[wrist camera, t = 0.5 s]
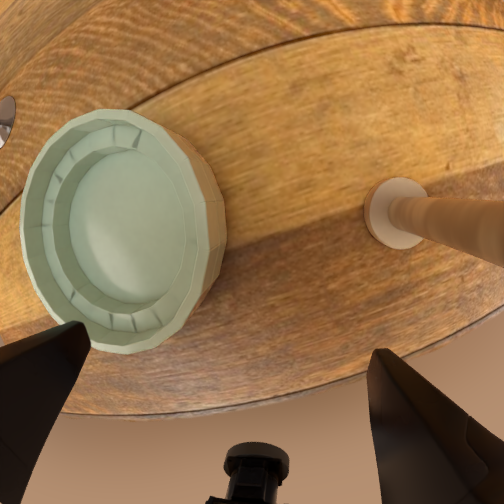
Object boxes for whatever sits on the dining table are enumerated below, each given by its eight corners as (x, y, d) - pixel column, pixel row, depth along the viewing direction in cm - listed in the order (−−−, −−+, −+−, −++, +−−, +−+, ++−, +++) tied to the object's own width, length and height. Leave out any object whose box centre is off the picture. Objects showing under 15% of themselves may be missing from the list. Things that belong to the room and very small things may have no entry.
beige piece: (423, 244, 18) (550, 303, 6) (364, 247, 19) (466, 325, 6) (421, 178, 17) (558, 169, 5) (361, 178, 18) (474, 151, 5)
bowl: (237, 328, 21) (223, 363, 16) (75, 318, 23) (42, 339, 19) (220, 106, 18) (199, 80, 13) (54, 149, 20) (16, 145, 16)
